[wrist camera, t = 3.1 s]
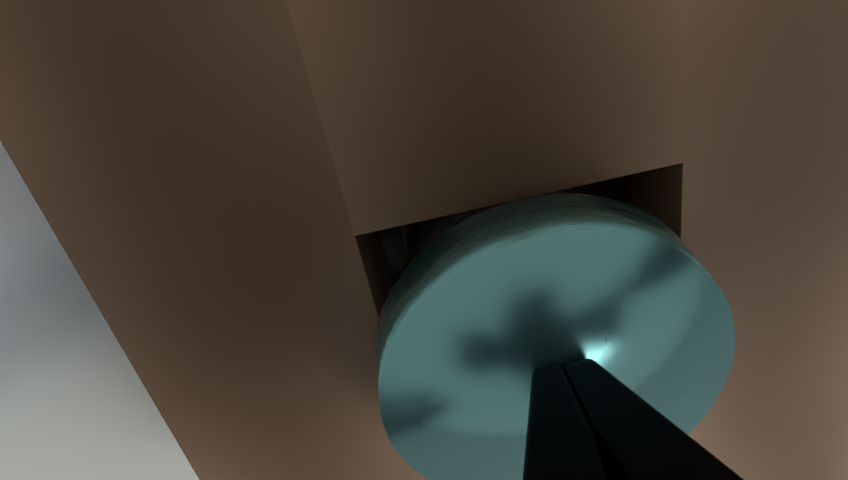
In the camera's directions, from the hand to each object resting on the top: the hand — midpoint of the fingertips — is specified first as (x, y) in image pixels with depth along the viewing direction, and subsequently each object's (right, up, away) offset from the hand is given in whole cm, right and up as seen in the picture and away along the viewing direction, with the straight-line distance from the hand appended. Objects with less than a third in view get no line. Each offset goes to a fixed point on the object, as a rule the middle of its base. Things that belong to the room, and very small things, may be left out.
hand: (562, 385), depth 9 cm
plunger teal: (-1, +3, +5) cm, 6 cm away
